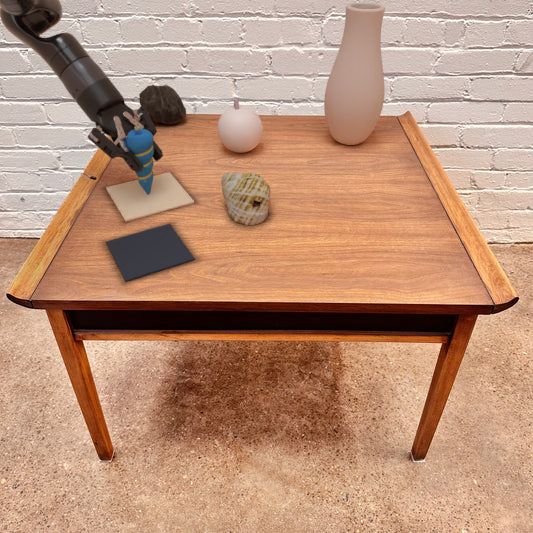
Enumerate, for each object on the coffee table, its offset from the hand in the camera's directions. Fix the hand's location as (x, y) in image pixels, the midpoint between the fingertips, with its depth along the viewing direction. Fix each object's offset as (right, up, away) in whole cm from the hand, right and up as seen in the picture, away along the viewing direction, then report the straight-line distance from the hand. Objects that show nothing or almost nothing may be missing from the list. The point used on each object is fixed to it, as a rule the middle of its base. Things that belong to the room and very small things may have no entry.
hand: (150, 163), depth 92 cm
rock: (-5, +19, +35) cm, 40 cm away
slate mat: (+2, -17, -9) cm, 19 cm away
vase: (+43, +11, +27) cm, 52 cm away
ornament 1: (-2, -5, +5) cm, 8 cm away
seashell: (+18, -9, +2) cm, 20 cm away
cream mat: (-2, -5, +6) cm, 8 cm away
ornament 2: (+16, +8, +22) cm, 29 cm away
